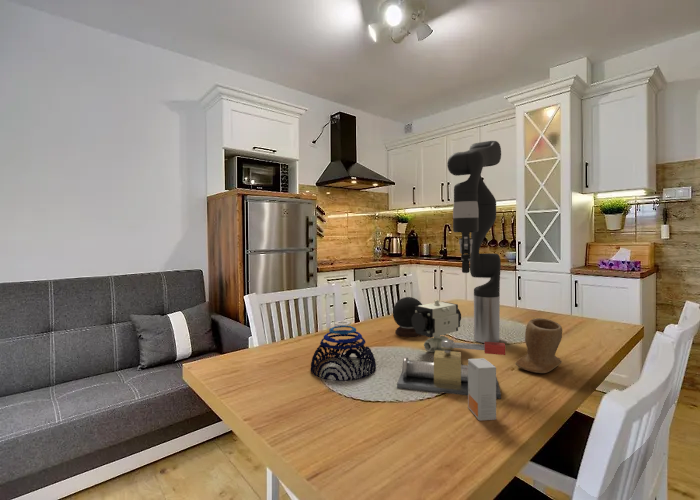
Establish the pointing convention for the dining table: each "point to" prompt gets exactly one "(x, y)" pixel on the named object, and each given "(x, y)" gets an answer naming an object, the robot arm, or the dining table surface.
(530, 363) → the stone cup
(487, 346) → the valve lever
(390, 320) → the dining table surface
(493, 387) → the skincare box
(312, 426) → the dining table surface
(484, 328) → the robot arm
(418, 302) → the black ball on base
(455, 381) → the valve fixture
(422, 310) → the ball valve
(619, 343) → the dining table surface
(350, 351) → the decorative bowl
